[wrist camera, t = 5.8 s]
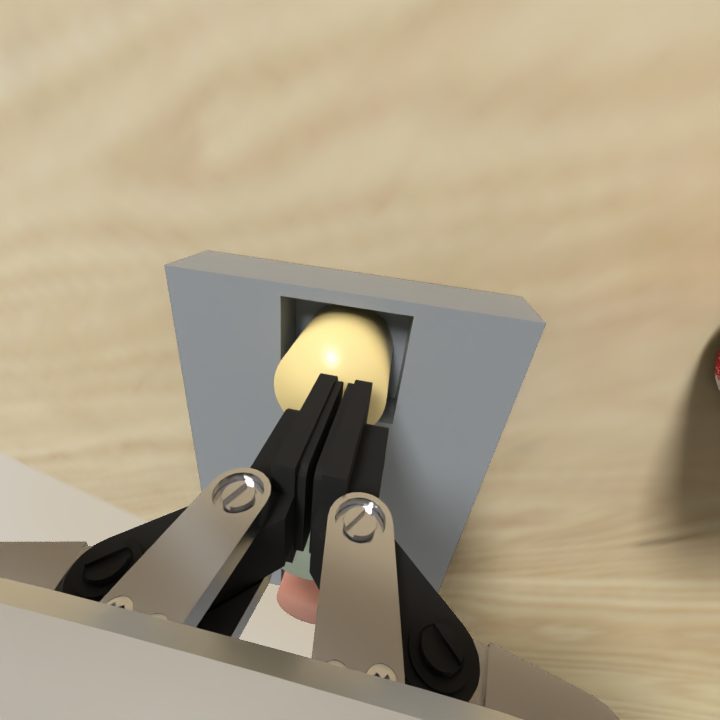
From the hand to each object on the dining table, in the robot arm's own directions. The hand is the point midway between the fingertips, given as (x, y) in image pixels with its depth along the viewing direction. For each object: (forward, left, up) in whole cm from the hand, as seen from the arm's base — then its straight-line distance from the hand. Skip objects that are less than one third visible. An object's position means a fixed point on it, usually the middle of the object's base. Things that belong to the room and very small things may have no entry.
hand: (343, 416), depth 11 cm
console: (+1, +7, -6) cm, 9 cm away
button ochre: (+1, 0, -5) cm, 5 cm away
